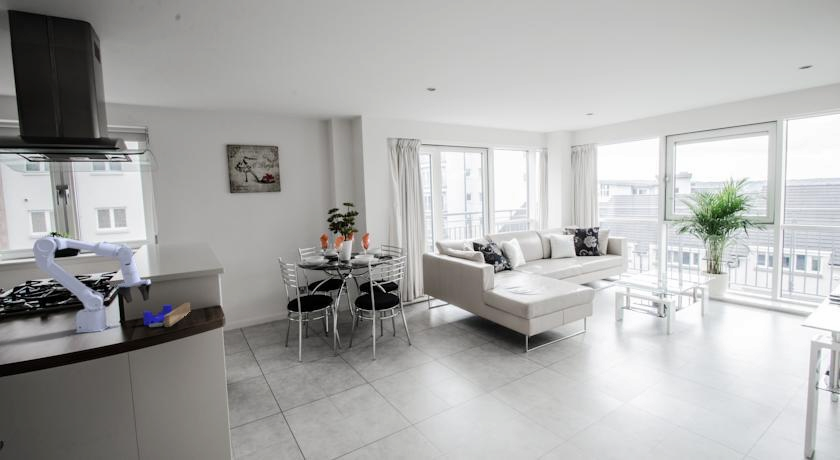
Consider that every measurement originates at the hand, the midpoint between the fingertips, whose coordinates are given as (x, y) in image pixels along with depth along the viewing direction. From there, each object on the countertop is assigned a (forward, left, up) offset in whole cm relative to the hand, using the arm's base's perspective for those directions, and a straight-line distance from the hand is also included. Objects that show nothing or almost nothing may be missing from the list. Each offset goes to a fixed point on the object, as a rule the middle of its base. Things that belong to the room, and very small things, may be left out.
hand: (138, 301), depth 173 cm
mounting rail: (+11, 0, -10) cm, 15 cm away
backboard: (+16, 0, -10) cm, 19 cm away
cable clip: (+7, 0, -10) cm, 12 cm away
